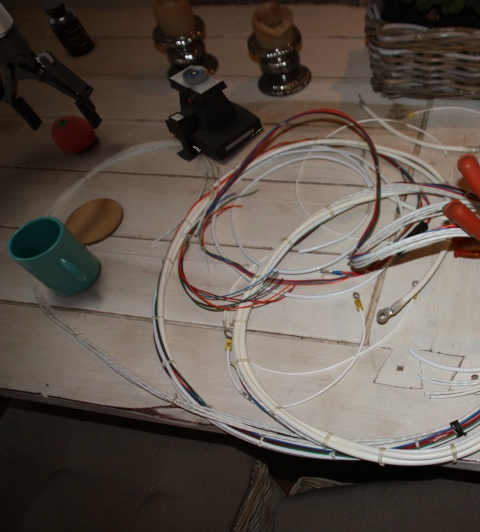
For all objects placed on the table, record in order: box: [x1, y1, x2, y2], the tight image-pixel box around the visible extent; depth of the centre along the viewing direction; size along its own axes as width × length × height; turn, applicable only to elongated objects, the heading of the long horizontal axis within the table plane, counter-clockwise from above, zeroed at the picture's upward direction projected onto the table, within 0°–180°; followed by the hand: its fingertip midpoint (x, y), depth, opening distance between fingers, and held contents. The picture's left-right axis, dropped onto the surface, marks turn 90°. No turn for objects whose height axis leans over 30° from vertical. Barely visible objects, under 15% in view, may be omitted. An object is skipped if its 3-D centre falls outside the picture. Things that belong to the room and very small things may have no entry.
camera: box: [164, 64, 263, 161], centre depth 109 cm, size 16×14×15 cm
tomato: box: [51, 114, 96, 155], centre depth 114 cm, size 8×8×7 cm
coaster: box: [64, 197, 124, 246], centre depth 103 cm, size 11×11×1 cm
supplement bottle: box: [41, 0, 94, 57], centre depth 133 cm, size 7×7×12 cm
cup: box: [6, 216, 100, 297], centre depth 91 cm, size 9×12×11 cm
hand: (68, 125), depth 112 cm, fingers open, 13 cm apart
